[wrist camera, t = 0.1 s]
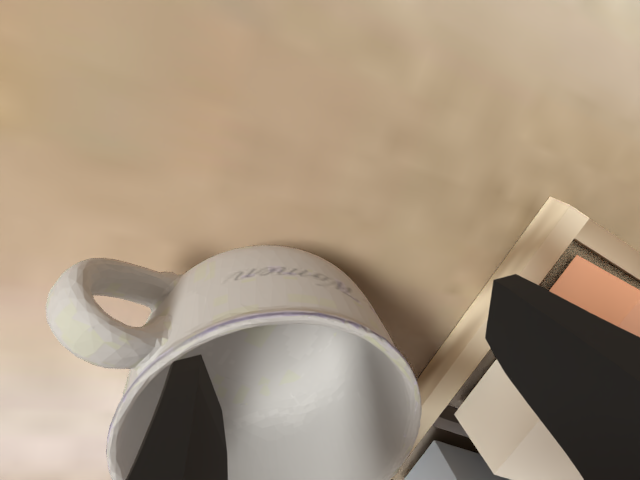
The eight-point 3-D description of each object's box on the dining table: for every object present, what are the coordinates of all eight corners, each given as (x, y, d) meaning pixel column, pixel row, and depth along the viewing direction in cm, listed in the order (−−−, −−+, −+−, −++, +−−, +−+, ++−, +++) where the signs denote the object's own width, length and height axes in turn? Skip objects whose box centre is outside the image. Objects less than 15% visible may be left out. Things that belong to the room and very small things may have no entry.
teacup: (394, 326, 24) (471, 442, 17) (237, 439, 25) (247, 596, 18) (231, 114, 18) (244, 155, 11) (28, 270, 19) (-86, 406, 12)
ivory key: (564, 452, 29) (614, 509, 25) (453, 414, 25) (494, 474, 22) (609, 401, 28) (668, 453, 24) (501, 353, 24) (551, 405, 21)
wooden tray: (494, 519, 33) (506, 539, 32) (341, 483, 28) (348, 504, 27) (690, 291, 28) (715, 303, 27) (549, 196, 23) (571, 205, 22)
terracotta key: (630, 377, 27) (693, 426, 24) (523, 324, 24) (578, 373, 20) (681, 319, 26) (755, 361, 23) (576, 254, 23) (645, 293, 19)
